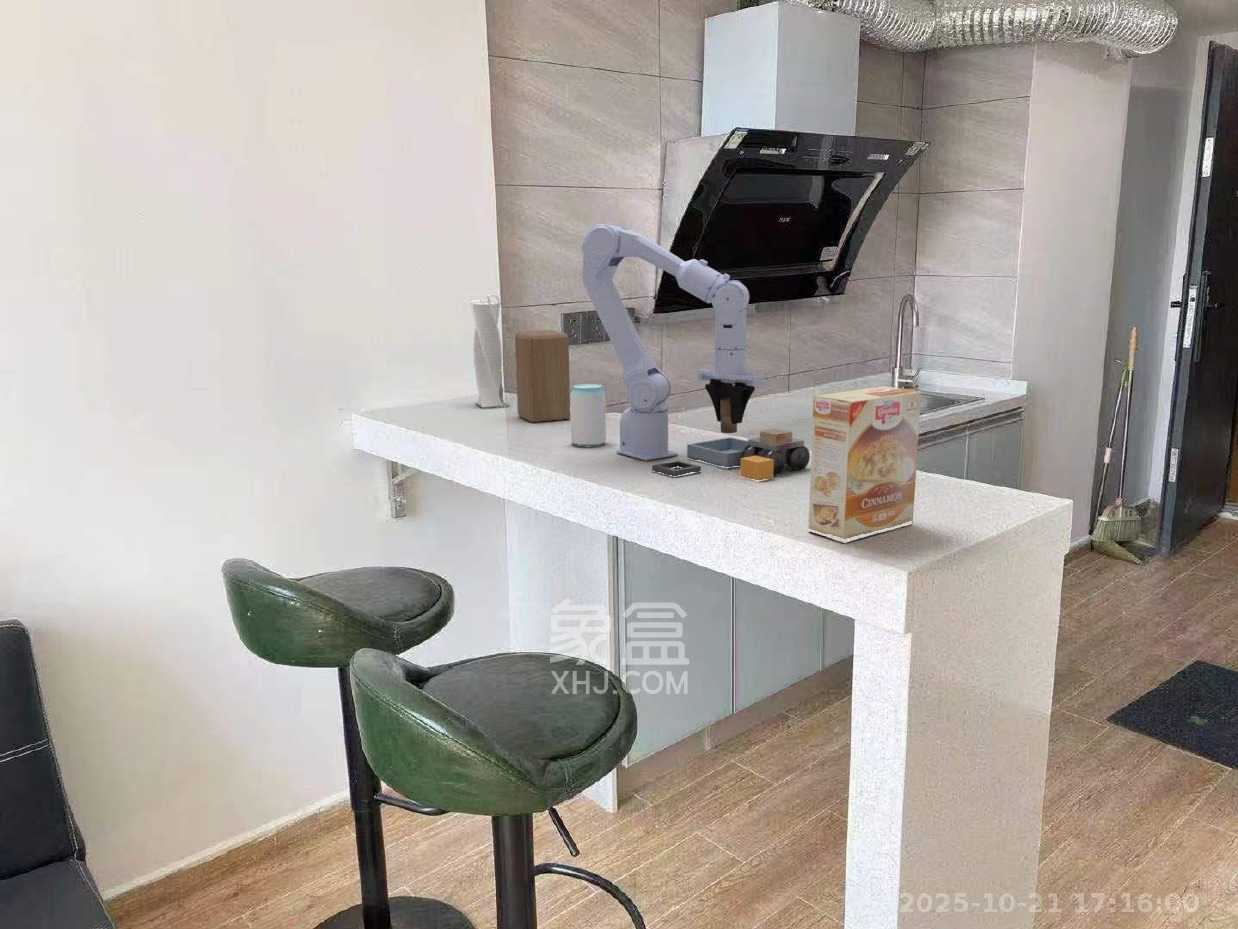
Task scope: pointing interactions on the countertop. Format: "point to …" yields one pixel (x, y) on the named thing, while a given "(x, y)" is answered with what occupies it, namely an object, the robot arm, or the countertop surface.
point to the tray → (718, 451)
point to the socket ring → (667, 469)
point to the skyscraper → (488, 353)
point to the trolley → (779, 449)
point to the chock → (756, 467)
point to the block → (542, 375)
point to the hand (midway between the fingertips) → (729, 422)
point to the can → (588, 415)
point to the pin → (726, 417)
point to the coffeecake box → (863, 460)
